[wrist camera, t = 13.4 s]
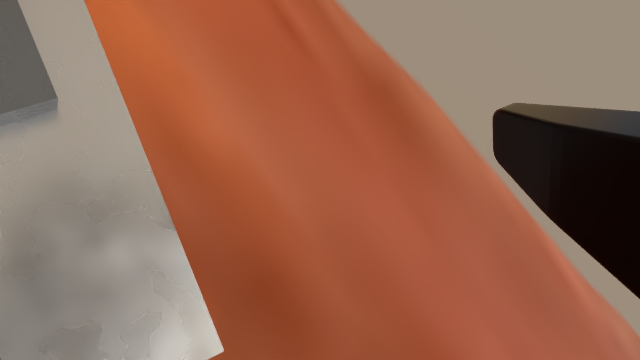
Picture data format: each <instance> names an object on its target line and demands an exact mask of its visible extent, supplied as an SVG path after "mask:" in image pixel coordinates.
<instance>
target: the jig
mask: <svg viewBox="0 0 640 360" xmlns="http://www.w3.org/2000/svg"><path fill="white" fill-rule="evenodd" d="M223 351H224V349H223V347H222V344H221V342H220V339H219V337H218V334H217V332H216V329H215V327H214V324H213V322H212V319H211V317H210V314H209V312H208V309H207V307H206V304H205V302H204V299H203V297H202V294H201V292H200V289H199V287H198V284H197V282H196V279H195V277H194V274H193V272H192V269H191V267H190V264H189V262H188V259H187V257H186V254H185V252H184V249H183V247H182V244H181V242H180V239H179V237H178V234H177V232H176V229H175V227H174V224H173V222H172V219H171V217H170V214H169V212H168V209H167V207H166V204H165V202H164V199H163V197H162V194H161V192H160V189H159V187H158V184H157V182H156V179H155V177H154V174H153V172H152V169H151V167H150V164H149V162H148V159H147V157H146V154H145V152H144V149H143V147H142V144H141V142H140V139H139V137H138V134H137V132H136V129H135V127H134V124H133V122H132V119H131V117H130V114H129V112H128V109H127V107H126V104H125V102H124V99H123V97H122V94H121V92H120V89H119V87H118V84H117V82H116V79H115V77H114V74H113V72H112V69H111V67H110V64H109V62H108V59H107V57H106V54H105V52H104V49H103V47H102V44H101V42H100V39H99V37H98V34H97V32H96V29H95V27H94V24H93V22H92V19H91V17H90V14H89V12H88V9H87V7H86V4H85V2H84V0H0V358H1V360H207V359H209V358H211V357H213V356H215V355H217V354H219V353H221V352H223Z"/></svg>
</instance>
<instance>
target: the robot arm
mask: <svg viewBox="0 0 640 360" xmlns="http://www.w3.org/2000/svg"><path fill="white" fill-rule="evenodd" d="M493 151H494V155H495V158H496V160H497V161H498V163H499V164H500V165H501V166H502V167H503V168H504V170H505V171H506V172H507V173H508V174H509V175H510V176H511V177H512V178H513V179H514V180H515V182H516V183H517V184H518V185H519V186H520V187H521V188H522V189H523V190H524V192H525V193H526V194H527V195H528V196H529V197H530V198H531V199H532V200H533V201H534V202H535V204H536V205H537V206H538V207H539V208H540V209H541V210H542V211H543V212H544V213H545V214H546V215H547V216H548V217H549V218H550V219H551V220H552V221H553V222H554V223H555V224H556V225H557V226H558V227H559V228H560V229H562V230H563V231H564V232H565V233H566V234H567V235H568V236H570V237H571V238H572V239H573V240H574V241H575V242H576V243H577V244H578V245H580V246H581V247H582V248H583V249H584V250H585V251H586V252H588V253H589V254H590V255H591V256H592V257H593V258H594V259H595V260H597V261H598V262H599V263H600V264H601V265H602V266H603V267H604V268H605V269H607V270H608V271H609V272H610V273H611V274H612V275H613V276H614V277H616V278H617V279H618V280H619V281H620V282H621V283H622V284H623V285H625V286H626V287H627V288H628V289H629V290H630V291H631V292H632V293H634V294H635V295H636V296H637V297H638V298H639V299H640V112H638V111H625V110H611V109H610V110H609V109H596V108H582V107H567V106H553V105H539V104H525V103H513V104H511V105H508V106H506V107H503V108H500V109H498V110H496V112H495V113H494V115H493ZM0 360H1V358H0Z"/></svg>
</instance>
